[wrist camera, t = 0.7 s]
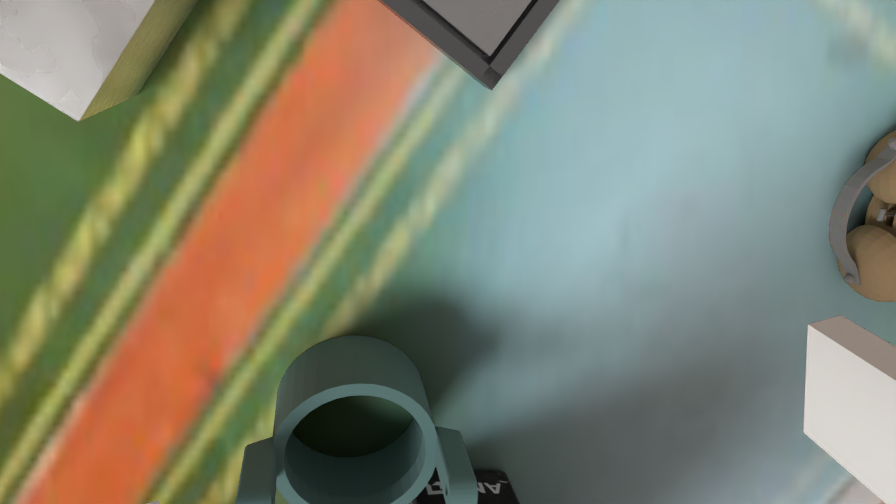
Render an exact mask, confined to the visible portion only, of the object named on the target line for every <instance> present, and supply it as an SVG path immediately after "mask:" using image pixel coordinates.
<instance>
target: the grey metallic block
mask: <svg viewBox="0 0 896 504" xmlns="http://www.w3.org/2000/svg"><path fill="white" fill-rule="evenodd" d="M197 2H198V0H0V73H1V74H2V75H4V76H6V77H7V78H9V79H10V80H12V81H14V82H15V83H17V84H19V85H20V86H22V87H23V88H25V89H27V90H28V91H30V92H32V93H33V94H35V95H36V96H38V97H40V98H41V99H43V100H45V101H46V102H48V103H49V104H51V105H53V106H54V107H56V108H57V109H59V110H61V111H62V112H64V113H66V114H67V115H69V116H70V117H72V118H74V119H75V120H77V121H81V120H83V119H85V118H87V117H90V116H92V115H94V114H96V113H98V112H101V111H103V110H105V109H107V108H110V107H112V106H114V105H116V104H118V103H121V102H123V101H125V100H127V99H129V98H132V97H134V96H136V95H138V93H139V92H140V90H141V89H142V87H143V86H144V84H145V83H146V81H147V79H148V78H149V76H150V75H151V73H152V72H153V70H154V69H155V67H156V65H157V64H158V62H159V61H160V59H161V58H162V56H163V55H164V53H165V51H166V50H167V48H168V47H169V45H170V44H171V42H172V41H173V39H174V37H175V36H176V34H177V33H178V31H179V30H180V28H181V27H182V25H183V23H184V22H185V20H186V19H187V17H188V16H189V14H190V13H191V11H192V10H193V8H194V6H195V5H196V3H197Z"/></svg>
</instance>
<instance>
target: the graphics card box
mask: <svg viewBox="0 0 896 504" xmlns="http://www.w3.org/2000/svg"><path fill="white" fill-rule="evenodd" d="M474 474H475V477H476V480H477V487H478V501H477V504H520V503H519V501H518V499H517V497H516V494H515V492H514V490H513V487H512V485H511V483H510V481H509V479H508V477H507V475H506V473H505V472H502V471H474ZM409 504H446V502H445V498H444V494H443V491H442V487H441V483H440V479H439V475H438V471H434V472H433V474H432V477H431V478H430V480H429V481H428V483H427V485H426V486H425V488H424V489H423V490H422V491H421V492H420V493H419V495H418V496H417V497H416V498H415V499H413V500H412V501H411V502H410V503H409Z"/></svg>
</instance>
